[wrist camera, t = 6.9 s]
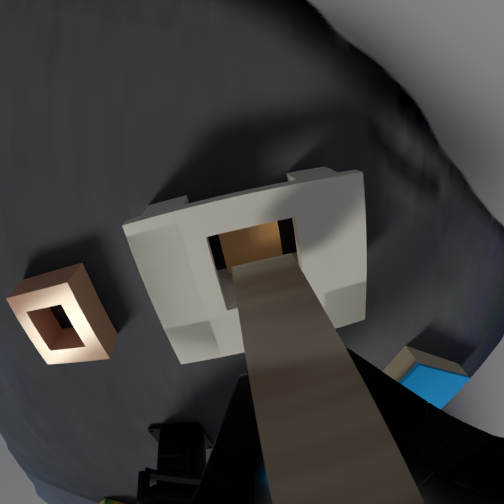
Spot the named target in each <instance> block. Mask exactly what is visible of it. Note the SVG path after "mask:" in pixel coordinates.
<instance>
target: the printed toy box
mask: <svg viewBox="0 0 504 504" xmlns="http://www.w3.org/2000/svg"><path fill="white" fill-rule="evenodd" d="M99 504H126V503H122V502H119V501H115V500H112V499H108V498H104V499H103V500H101V501H100V502H99Z"/></svg>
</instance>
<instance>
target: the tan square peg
mask: <svg viewBox="0 0 504 504" xmlns="http://www.w3.org/2000/svg"><path fill="white" fill-rule="evenodd" d="M231 268H232V275H233V281H234V288H235V295H236V301H237V307H238V314H239V320H240V326H241V333H242V339H243V345H244V351H245V357H246V363H247V369H248V375H249V381H250V387H251V392H252V398H253V404H254V409H255V415H256V420H257V426H258V431H259V437H260V442H261V447H262V453H263V458H264V463H265V468H266V474H267V479H268V484H269V489H270V494H271V499H272V503H273V504H425V503H424V501H423V499H422V497H421V495H420V493H419V490H418V488H417V486H416V484H415V482H414V480H413V478H412V476H411V474H410V471H409V469H408V467H407V465H406V463H405V461H404V459H403V457H402V455H401V453H400V451H399V449H398V447H397V445H396V443H395V441H394V439H393V437H392V435H391V433H390V431H389V429H388V427H387V425H386V423H385V421H384V419H383V417H382V415H381V413H380V411H379V409H378V407H377V406H376V404H375V402H374V400H373V398H372V396H371V394H370V392H369V390H368V388H367V386H366V385H365V383H364V381H363V379H362V377H361V375H360V373H359V372H358V370H357V368H356V366H355V364H354V362H353V360H352V359H351V357H350V355H349V353H348V351H347V349H346V348H345V346H344V344H343V342H342V340H341V339H340V337H339V335H338V333H337V331H336V330H335V328H334V326H333V324H332V322H331V321H330V319H329V317H328V315H327V313H326V312H325V310H324V308H323V306H322V305H321V303H320V301H319V299H318V298H317V296H316V294H315V292H314V291H313V289H312V287H311V286H310V284H309V282H308V280H307V279H306V277H305V275H304V273H303V272H302V270H301V268H300V267H299V265H298V263H297V262H296V260H295V258H294V256H293V255H292V253H289V254H285V255H281V256H276V257H272V258H268V259H263V260H259V261H255V262H250V263H246V264H242V265H237V266H233V267H231Z"/></svg>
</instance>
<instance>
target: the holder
mask: <svg viewBox="0 0 504 504" xmlns="http://www.w3.org/2000/svg"><path fill="white" fill-rule="evenodd" d="M6 299H7V301H8V303H9V304H10V306H11V308H12V310H13V312H14V313H15V315H16V317H17V318H18V320H19V322H20V323H21V325H22V327H23V328H24V330H25V332H26V333H27V335H28V336H29V338H30V339H31V341H32V342H33V344H34V345H35V347H36V348H37V350H38V351H39V353H40V354H41V356H42V357H43V358H44V360H45V361H46V363H47V364H60V363H72V362H83V361H93V360H102V359H110V357H111V354H112V351H113V347H114V344H115V341H116V339H117V336H118V334H117V332H116V330H115V328H114V326H113V324H112V323H111V321H110V319H109V317H108V315H107V313H106V311H105V309H104V307H103V305H102V303H101V301H100V299H99V297H98V295H97V293H96V291H95V289H94V287H93V285H92V282H91V280H90V278H89V276H88V274H87V271H86V269H85V267H84V265H83V263H79V264H75V265H72V266H68V267H65V268H61V269H58V270H54V271H51V272H47V273H44V274H40V275H37V276H34V277H30V278H27V279H24V280H22V281H21V282H20V283H19V284H18V286H17V287H16V288H15V289H14V290H13V291H12V292H11V293H10V295H9V296H8V297H7V298H6ZM56 305H62V307H63V309H64V311H65V313H66V314H67V316H68V318H69V320H70V321H71V323H72V325H73V327H71V328H65V329H62V328H61V326H60V325H59V323H58V321H57V320H56V318H55V316H54V314H53V313H52V311H51V309H50V307H51V306H56Z"/></svg>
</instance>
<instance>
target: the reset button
mask: <svg viewBox="0 0 504 504" xmlns="http://www.w3.org/2000/svg"><path fill="white" fill-rule="evenodd" d="M218 235H219V239H220V243H221V247H222V251H223V254H224V258H225V262H226V266H227V270H228V273H232V268H231V267H233V266H237V265H242V264H246V263H250V262H255V261H259V260H263V259H268V258H272V257H276V256H281V255H283V253H282V247H281V240H280V234H279V228H278V222H277V221H274V222H270V223H265V224H261V225H256V226H252V227H247V228H243V229H239V230H234V231H230V232H226V233H221V234H218Z"/></svg>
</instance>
